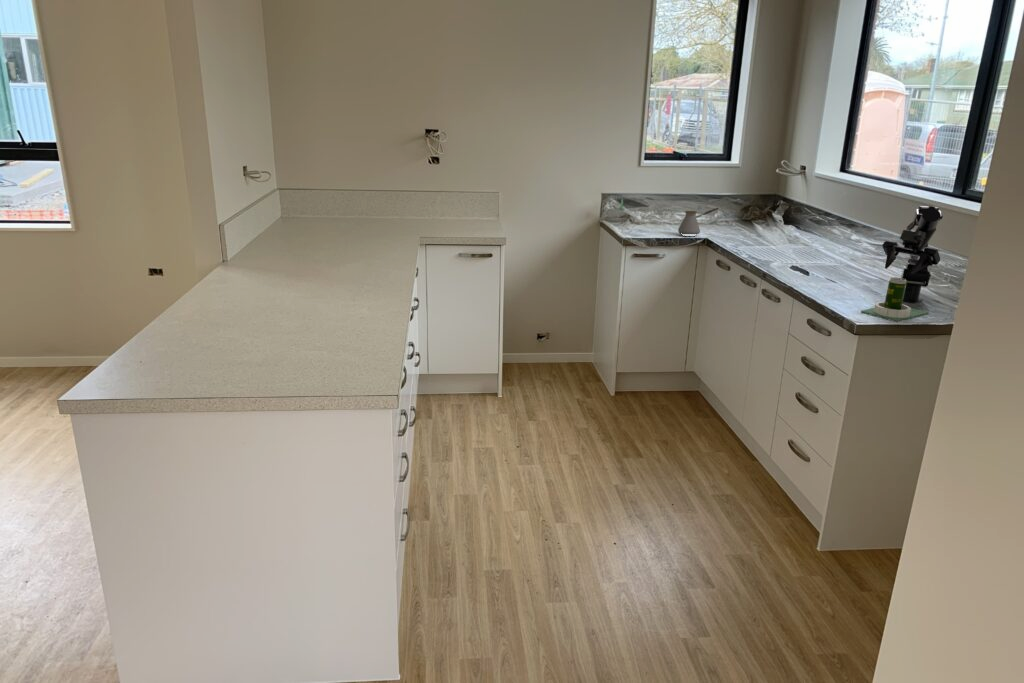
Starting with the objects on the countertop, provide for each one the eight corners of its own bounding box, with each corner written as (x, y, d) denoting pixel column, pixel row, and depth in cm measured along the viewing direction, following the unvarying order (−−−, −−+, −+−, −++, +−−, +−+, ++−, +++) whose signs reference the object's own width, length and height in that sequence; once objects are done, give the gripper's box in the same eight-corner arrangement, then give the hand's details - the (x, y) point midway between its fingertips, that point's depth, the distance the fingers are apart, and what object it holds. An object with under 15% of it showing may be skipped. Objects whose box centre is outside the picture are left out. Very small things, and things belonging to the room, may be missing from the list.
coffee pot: (682, 237, 381) (685, 209, 376) (674, 233, 392) (677, 205, 387) (720, 237, 384) (724, 209, 380) (711, 233, 395) (715, 206, 390)
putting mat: (892, 304, 264) (892, 303, 263) (928, 313, 253) (928, 312, 253) (860, 312, 253) (861, 310, 253) (897, 321, 243) (897, 320, 242)
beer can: (893, 310, 254) (900, 277, 250) (903, 315, 249) (910, 281, 245) (879, 310, 253) (886, 277, 249) (888, 315, 248) (895, 281, 244)
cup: (884, 307, 258) (886, 300, 257) (915, 314, 250) (917, 307, 249) (867, 311, 252) (868, 304, 251) (898, 319, 244) (899, 312, 243)
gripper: (890, 217, 260) (867, 251, 258) (943, 226, 246) (919, 261, 243) (897, 238, 267) (875, 270, 264) (950, 247, 252) (926, 281, 250)
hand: (898, 270), depth 255 cm, fingers open, 9 cm apart
